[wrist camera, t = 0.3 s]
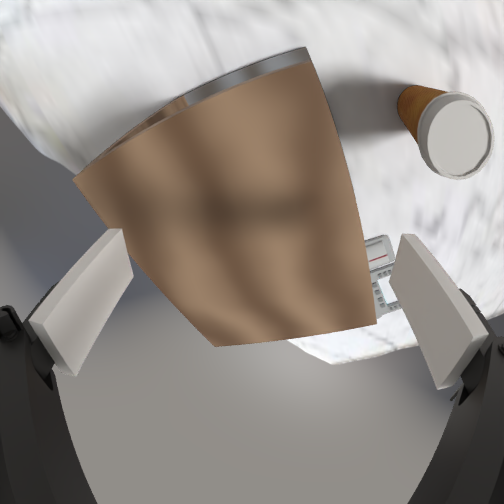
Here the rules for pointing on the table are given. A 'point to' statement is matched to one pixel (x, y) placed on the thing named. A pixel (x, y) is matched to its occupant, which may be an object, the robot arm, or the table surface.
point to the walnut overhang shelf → (242, 207)
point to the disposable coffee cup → (448, 130)
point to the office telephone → (380, 271)
